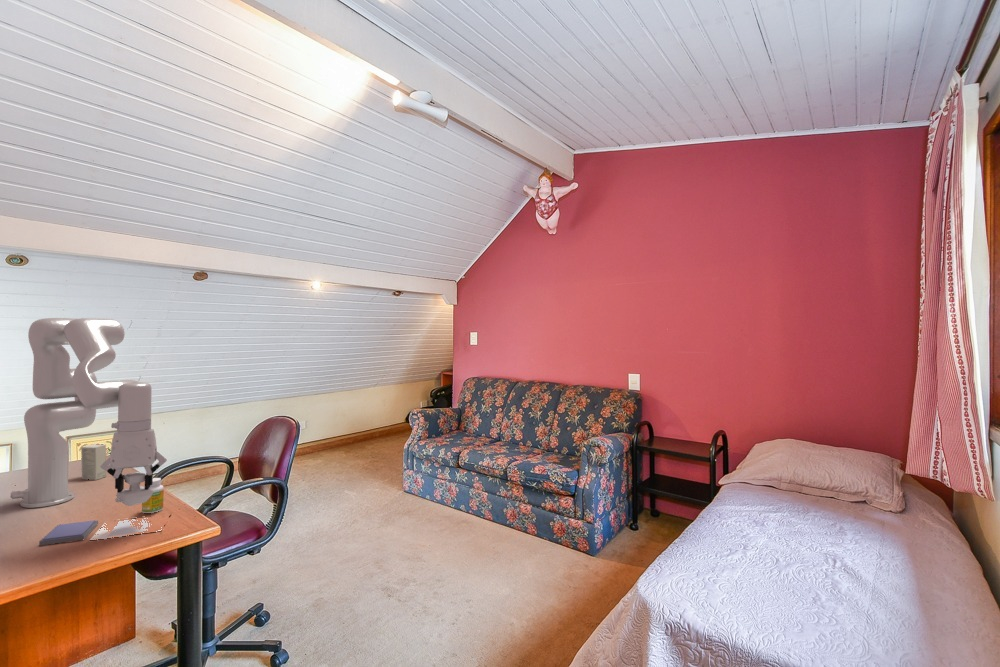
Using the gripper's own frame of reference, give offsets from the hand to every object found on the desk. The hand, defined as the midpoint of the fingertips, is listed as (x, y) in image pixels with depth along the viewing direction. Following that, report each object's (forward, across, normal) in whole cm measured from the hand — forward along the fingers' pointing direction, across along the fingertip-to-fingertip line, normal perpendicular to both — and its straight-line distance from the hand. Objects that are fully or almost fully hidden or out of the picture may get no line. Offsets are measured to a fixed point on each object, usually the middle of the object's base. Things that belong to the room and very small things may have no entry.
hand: (134, 488), depth 136 cm
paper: (+11, 0, 0) cm, 11 cm away
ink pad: (+11, -14, 0) cm, 18 cm away
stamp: (+4, 0, 0) cm, 4 cm away
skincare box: (+11, -25, +58) cm, 64 cm away
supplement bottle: (+11, +2, +12) cm, 16 cm away
